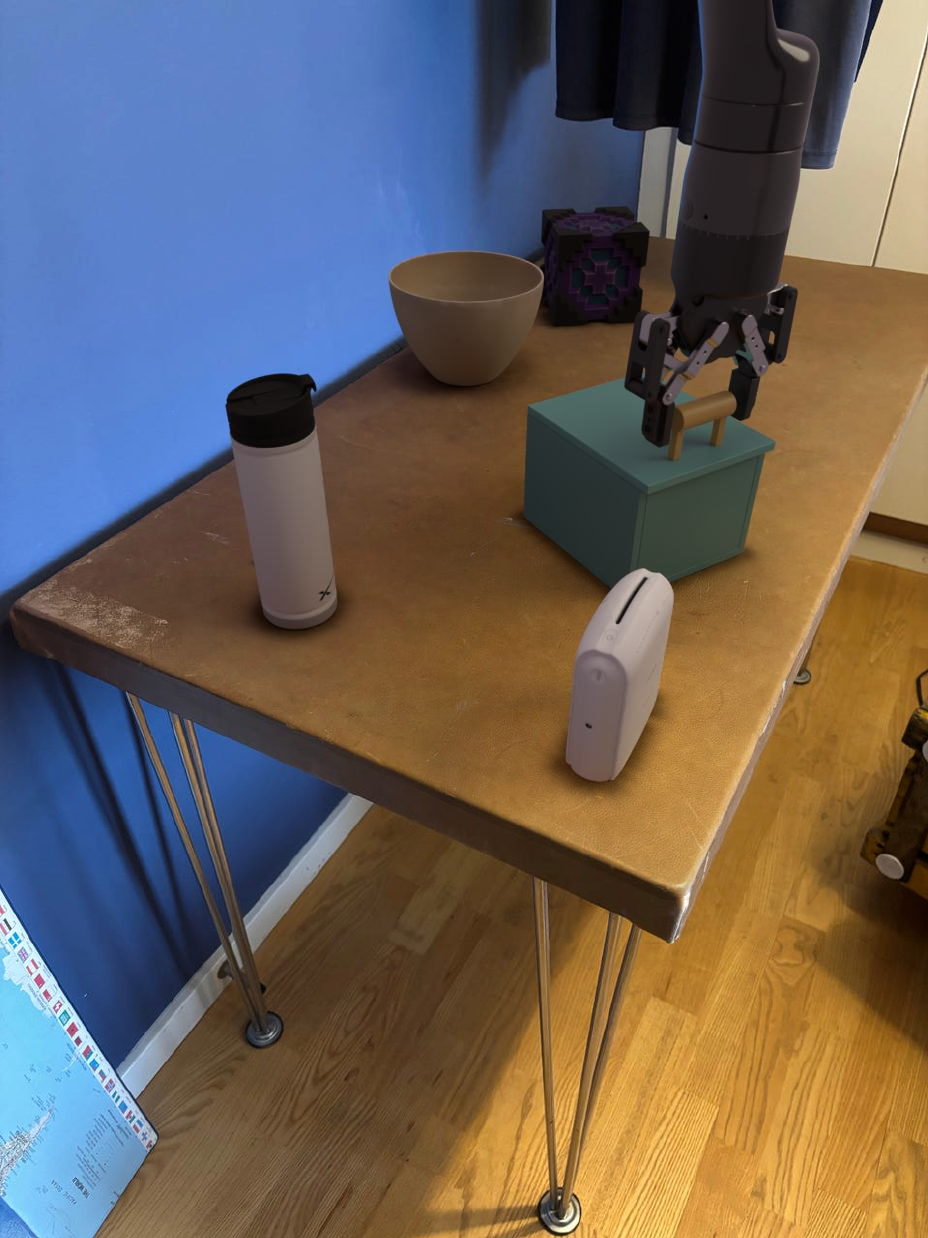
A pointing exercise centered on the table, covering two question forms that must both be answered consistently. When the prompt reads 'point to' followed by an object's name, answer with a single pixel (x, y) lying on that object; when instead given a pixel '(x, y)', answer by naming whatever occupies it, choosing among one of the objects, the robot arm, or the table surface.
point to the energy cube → (592, 265)
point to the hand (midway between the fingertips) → (697, 429)
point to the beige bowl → (465, 311)
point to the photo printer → (618, 674)
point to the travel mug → (283, 497)
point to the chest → (634, 511)
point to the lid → (614, 438)
